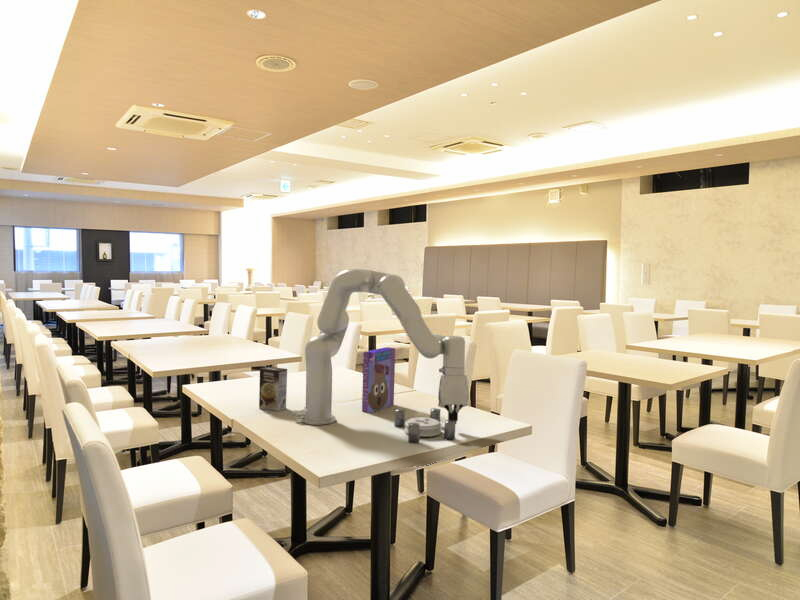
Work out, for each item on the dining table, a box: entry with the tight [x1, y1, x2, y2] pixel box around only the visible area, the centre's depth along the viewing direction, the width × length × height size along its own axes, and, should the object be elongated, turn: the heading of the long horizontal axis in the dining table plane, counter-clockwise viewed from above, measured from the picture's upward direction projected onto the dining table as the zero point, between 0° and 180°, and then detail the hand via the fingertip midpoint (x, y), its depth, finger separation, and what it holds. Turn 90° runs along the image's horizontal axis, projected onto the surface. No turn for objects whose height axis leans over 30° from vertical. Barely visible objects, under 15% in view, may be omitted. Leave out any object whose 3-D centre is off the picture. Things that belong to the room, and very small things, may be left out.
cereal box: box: [361, 347, 396, 414], centre depth 225 cm, size 17×5×24 cm, turn 152°
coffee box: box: [258, 366, 288, 412], centre depth 220 cm, size 9×6×16 cm
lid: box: [404, 416, 442, 437], centre depth 192 cm, size 13×13×5 cm
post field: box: [394, 407, 456, 444], centre depth 192 cm, size 17×23×6 cm
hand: (452, 423), depth 195 cm, fingers closed
